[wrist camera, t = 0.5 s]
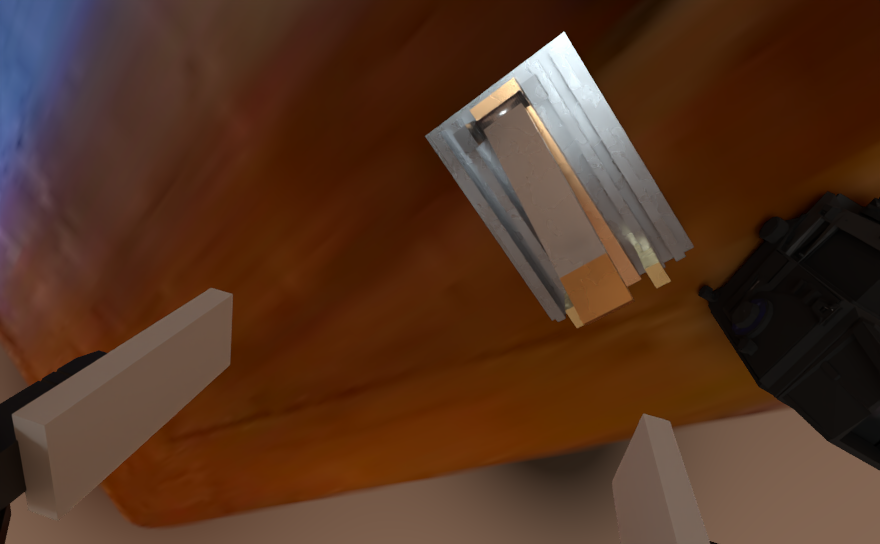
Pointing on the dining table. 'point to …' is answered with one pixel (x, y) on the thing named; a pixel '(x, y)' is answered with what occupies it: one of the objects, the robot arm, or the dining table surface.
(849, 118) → the dining table surface
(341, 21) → the dining table surface
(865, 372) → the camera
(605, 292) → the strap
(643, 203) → the heatsink block
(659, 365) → the dining table surface
